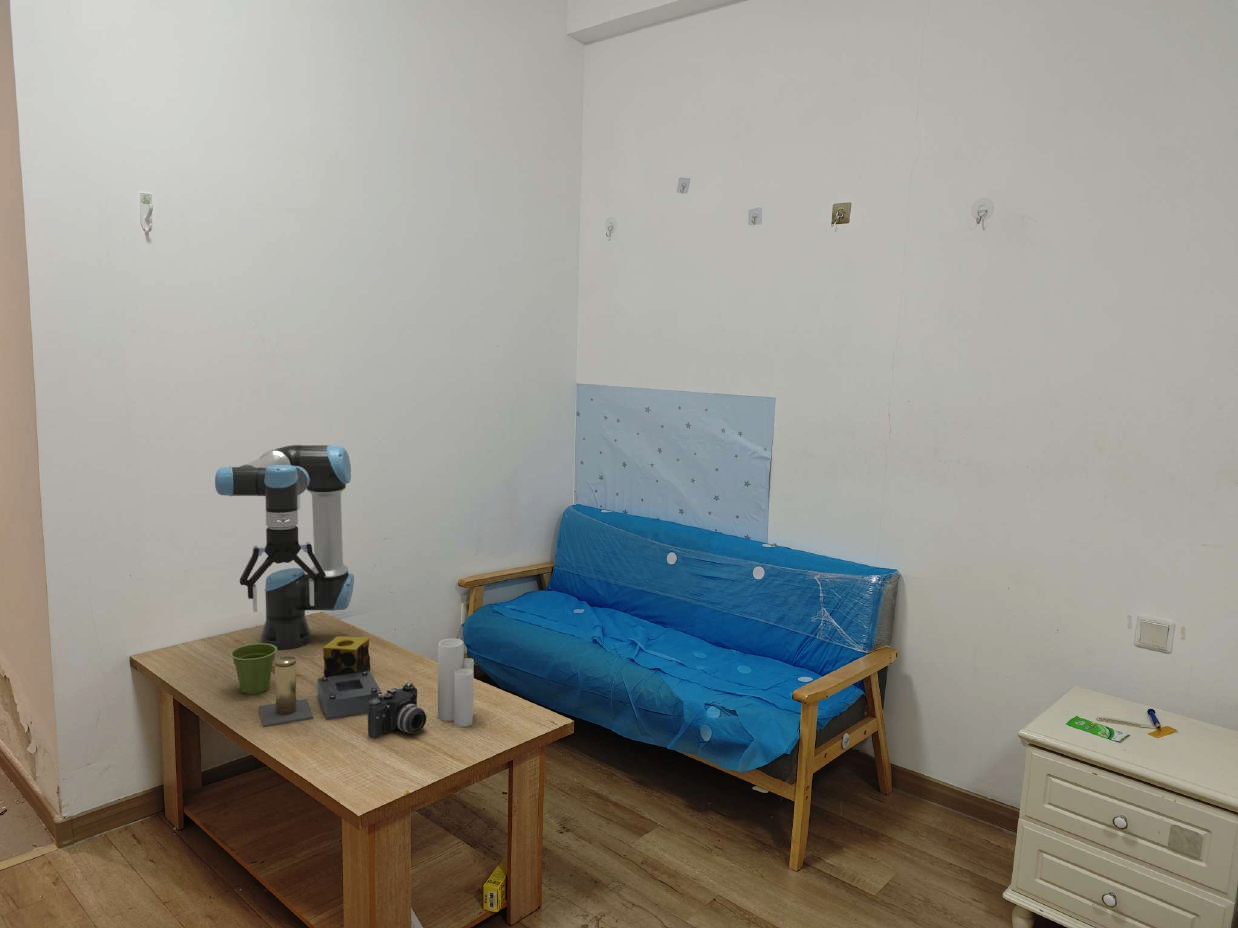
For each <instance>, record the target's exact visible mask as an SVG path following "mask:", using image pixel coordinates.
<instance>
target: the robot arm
mask: <svg viewBox="0 0 1238 928" xmlns="http://www.w3.org/2000/svg"><path fill="white" fill-rule="evenodd" d="M351 468H352V467H351V460H350V456H349V453H348V451H347V449H345V448H344V447H343V446H338V445H337V446H336V445H331V444H330V445H329V444H326V445H318V444H317V445H316V444H315V445H309V444H307V445H304V444H303V445H301V444H292V445H287V446H282V447H278V448H275V449H271V450H269V451H266V452H264V453H263V454H262V455H261V456H260V457H259V458H258V459H256V460H253V461H249V462H248V463H245V464H242V465H240V466H227V467H226V466H222V467H219V468H218V469H217V471H216V473H215V476H214V487H215V491H216V493H217V494H218V495H220V496H227V497H265V525H266V527H267V528H266V529H265V533H266V535H265V536H266V545H265V546H264V547H262V546H261V547H259V546H257V545H254V546H253V547H252V553H251V554H252V555H251V557H250V558H249V560H248V562H247V564H246V566H245V569H244V570H243V572H242V574H241V576H240V578H239V583H240V586H246V587H247V597H248V600H252V611H253V613H258V593H257V584H256V583H257V582H258V581H259V579H260V578H261V577H262V576H263V575H264V573H265V572H266V571H267V570H268V568H269V567H271V566H272V565H273V564H277V565H278V564H283V563H285V564H288V563H291V562H292V561H293V562H294V563H296V564H297V565H298V566H299V567H293V568H285V569H280V570H277V571H274V572H272V573H270V574H268V576H267V577H266V579H265V588H264V593H265V622H264V625H263V629H262V631H261V634H260V643H265V644H271V645H274V646H276V647H277V650H288V649H289V650H290V649H294V648H298V647H303V646H305V645H306V644H308V643H310V642H311V641H312V633H311V631H312V630H311V629H310V626H309V624H308V620H307V618H306V611H332V612H334V611H344V610H346V609H348V607H349V606H350V604H351V601H352V596H353V590H354V584H355V576H354V575H355V574H353V573H351V572H350V573H349V567H348V566H347V565H345V563H344V555H343V552H344V551H343V525H342V523H343V522H342V492H343V491H344V490H345V489H346V485H348V484H349V483H350V482H351V481H352V480H351V479H352V469H351ZM305 491H307V492H308V493H310V494H311V504H312V505H311V506H312V507H311V508H312V509H311V510H312V529H313V531H312V532H313V533H312V534H313V547H312V544H311V542H309V541H307V542H305V543H303V544H300V543H299V527H298V526H297V525H298V524H299V512H298V511H299V510H298V507H299V505H298V501H299V500H298V497H299V495H301V494H303V493H304V492H305ZM301 550H303V552H304V553H307V555H308V557H309V558H310V561H312V564H313V567H311V568H310V566H309V565H308V564H307V563H306V562H304V561H303V560H302V559H301V558H300V557H299V556H298V554H299V553H300V551H301ZM263 553H265V554H266V555H267V557H266V559H264V561H263V562H262V564H261V565H260V566H259V567H258V568H257V570H256V571H254V573H253V574H252V576H250V575H251V573H252V571H253V568H254V567H255V566H256V563H257V562H258V559H259V557H260V556H262V554H263Z"/></svg>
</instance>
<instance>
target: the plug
mask: <svg viewBox="0 0 1238 928" xmlns="http://www.w3.org/2000/svg"><path fill="white" fill-rule="evenodd" d="M296 663H297V659H296V657H294V656H289V655H286V656H279V657H277V658H276V659H275V660H274V674H275V675H274V678H275V679H274V684H275V686H274V689H275V693H274V694H275V703H276V714H278V715H290V714H293V713H295V712H296V700H297V665H296Z"/></svg>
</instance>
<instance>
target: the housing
mask: <svg viewBox="0 0 1238 928" xmlns="http://www.w3.org/2000/svg"><path fill="white" fill-rule="evenodd" d="M316 684H317V697H318V702H319V703H320V706H321V708H322V711H323V713H324V716H325V718H326V720H334V719H339V718H341V719H342V718H345V717H352V716H357V715H363V714H368V703H369V701H370V700H372V699H374V698H377V697H379V695H378V694H382V695H381V696H382V697H383V691H382V690H381V688H380V687H379V684H378V683H377V681H376V679H375V678H374V676H373V673H372V672H371V671H370V670H369V671H362V672H359V673H352V674H345V675H338V676H332V677H324V676H322V677H320V678H317V683H316Z"/></svg>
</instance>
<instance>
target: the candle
mask: <svg viewBox="0 0 1238 928" xmlns="http://www.w3.org/2000/svg"><path fill="white" fill-rule="evenodd" d="M369 647H370V638H369V637H356V636H343V635H342V636H336V637H335V638H333V640H331V641H329V643H327V644H326V645H324V646H323V649H322V650H323V651H322V652H323V656H322V657H323V666H324V668H323V674H324V675H323V677H332V676H338V675H345V674H352V673H359V672H362V671H370V670H371V662H370V661H371V656H370V652H369V651H370V650H369Z"/></svg>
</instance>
